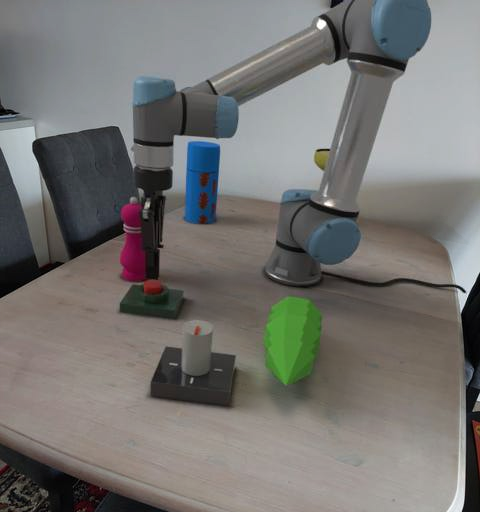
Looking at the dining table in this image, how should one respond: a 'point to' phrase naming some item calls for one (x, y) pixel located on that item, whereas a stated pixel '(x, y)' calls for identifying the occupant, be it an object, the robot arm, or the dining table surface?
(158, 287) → the button
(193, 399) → the panel
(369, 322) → the dining table surface
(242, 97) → the robot arm
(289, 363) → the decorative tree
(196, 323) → the knob
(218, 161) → the thermos
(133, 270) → the pepper mill
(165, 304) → the button box
